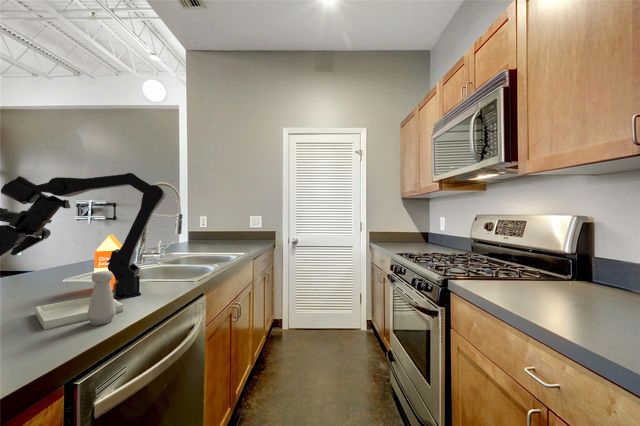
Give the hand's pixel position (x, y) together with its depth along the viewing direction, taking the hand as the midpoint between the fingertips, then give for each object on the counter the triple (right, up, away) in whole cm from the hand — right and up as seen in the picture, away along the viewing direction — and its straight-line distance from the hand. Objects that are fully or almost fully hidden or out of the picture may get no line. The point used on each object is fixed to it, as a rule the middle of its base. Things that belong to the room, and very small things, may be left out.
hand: (2, 256), depth 81 cm
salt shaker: (+38, -15, -11) cm, 42 cm away
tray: (+27, -15, -4) cm, 31 cm away
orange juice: (+15, -15, +22) cm, 31 cm away
